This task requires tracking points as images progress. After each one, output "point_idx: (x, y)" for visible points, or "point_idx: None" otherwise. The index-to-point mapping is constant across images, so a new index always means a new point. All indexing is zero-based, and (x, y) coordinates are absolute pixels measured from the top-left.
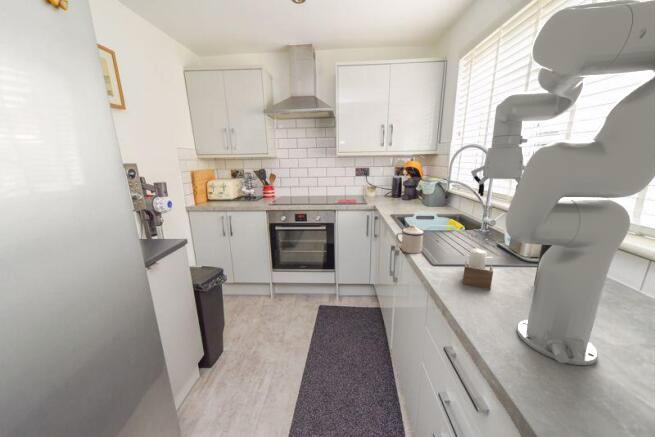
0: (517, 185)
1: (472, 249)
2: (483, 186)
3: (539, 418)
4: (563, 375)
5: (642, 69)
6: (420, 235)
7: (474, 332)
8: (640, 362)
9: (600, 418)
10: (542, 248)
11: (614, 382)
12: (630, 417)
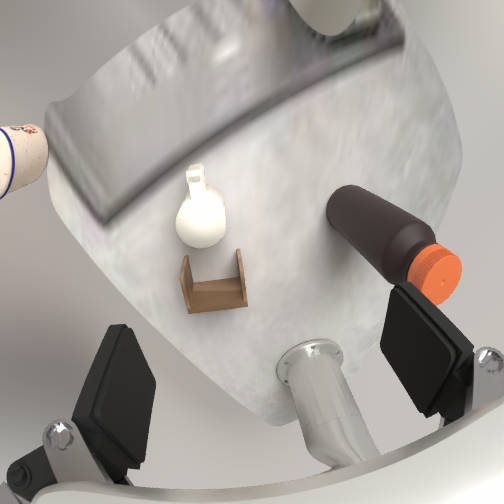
0: (431, 398)
1: (180, 217)
2: (140, 452)
3: (278, 423)
4: None
5: None
6: (13, 173)
7: (234, 389)
8: (372, 343)
9: None
10: (371, 257)
11: None
12: None
